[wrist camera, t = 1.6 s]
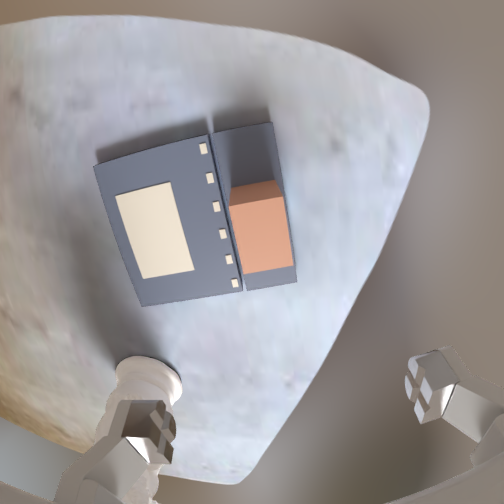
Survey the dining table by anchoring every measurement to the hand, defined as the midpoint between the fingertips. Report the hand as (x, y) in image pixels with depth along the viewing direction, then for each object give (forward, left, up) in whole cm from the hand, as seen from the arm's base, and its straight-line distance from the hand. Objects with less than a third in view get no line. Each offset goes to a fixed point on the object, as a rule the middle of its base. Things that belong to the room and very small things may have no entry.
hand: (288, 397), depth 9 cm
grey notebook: (-8, 0, -19) cm, 21 cm away
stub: (0, 0, -19) cm, 19 cm away
